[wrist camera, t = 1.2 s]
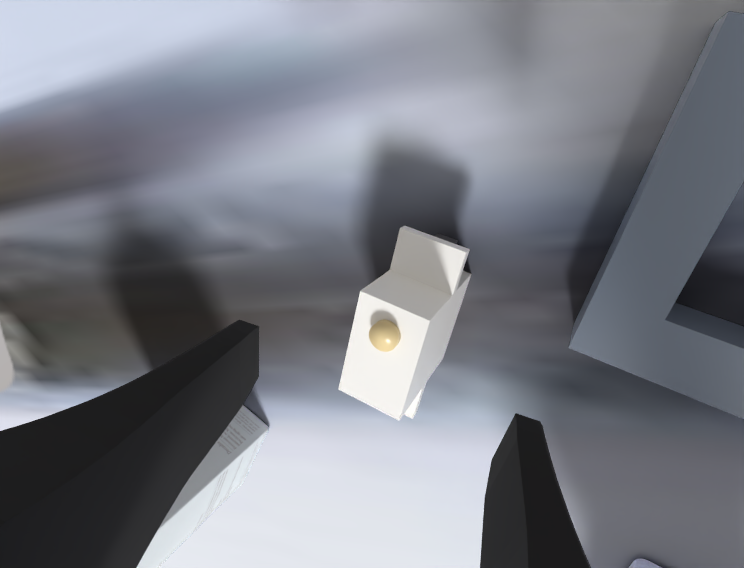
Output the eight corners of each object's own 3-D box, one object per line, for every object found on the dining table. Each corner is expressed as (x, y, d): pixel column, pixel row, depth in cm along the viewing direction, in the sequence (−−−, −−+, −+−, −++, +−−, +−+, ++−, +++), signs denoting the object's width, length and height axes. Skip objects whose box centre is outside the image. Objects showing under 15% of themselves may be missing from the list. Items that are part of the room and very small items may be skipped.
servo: (433, 387, 26) (385, 460, 20) (384, 364, 26) (326, 428, 21) (484, 235, 22) (441, 276, 16) (424, 214, 23) (365, 247, 17)
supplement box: (195, 362, 34) (3, 479, 23) (273, 427, 32) (105, 583, 22) (175, 424, 38) (1, 549, 27) (243, 485, 36) (87, 642, 26)
